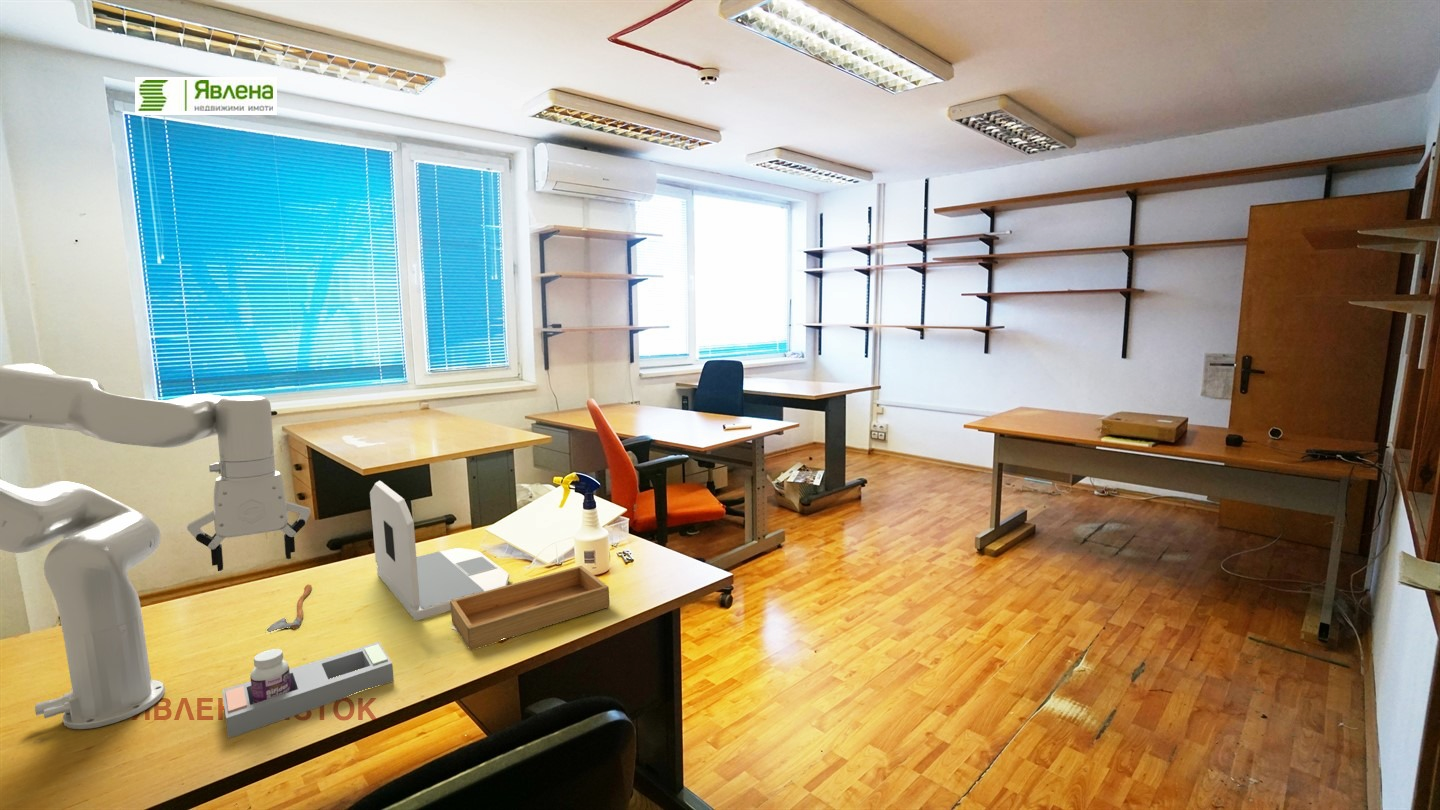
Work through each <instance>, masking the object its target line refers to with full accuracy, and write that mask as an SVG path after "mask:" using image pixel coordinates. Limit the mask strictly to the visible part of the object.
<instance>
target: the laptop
mask: <svg viewBox="0 0 1440 810" xmlns="http://www.w3.org/2000/svg"><path fill="white" fill-rule="evenodd" d="M369 499H370V500H369V501H370V508H371V522H372V532H373V533H372V534H373V545H374V556H375V557H374V559H375V563H376V566H377V567H376V571H377V572H376V573H377V575H378V576H379V578H380V579H381V580H382V581H383V583H384V584H385V585H386V587H387V588H388V589H389V590H390V591H391V593H392V594H393V595H394V596H395V598H397V600H398V601H399V602H400V604H401V605H402V607H404V609H405V610H406V611H407V613H408V614H410V616H411V617H412V619H413V620H414V621H420V620H422V619H427V618H430V617H434V616H437V615H439V614H443V613H446V612H451V605H450V600H454V599H458V598H461V597H465V596H469V595H473V594H477V593H480V592H484V591H488V590H492V589H495V588H499V587H503V586H507V585H509V580H510V579H509V578H510V573H508V572H507V571H506V570H504V569H503V568H502V567H501V566H499V565H498V564H496V563H495V562H494V561H493V560H491V559H490V558H489V557H487V556H486V555H484V554H483V553H482V552H481V551H480V550H475V549H471V548H470V549H469V548H462V547H455V548H450V549H446V550H442V551H436V552H431V553H428V554H423V555H419V556H417V550H416V549H417V548H416V547H417V546H416V536H415V523H414V518H413V517H412V514H411V512H410V509H409V507H408V505H407V503H406V501H405V500H406V499H405V498H403V496H401V495H399V493H397V492H396V491H395V490H393V489H392V488H390V487H389V486H388V485H387V484H385V483H384V482H383V481H381V480H378V481H376V482H374V485H373V486H372V488H371V489H370V491H369Z"/></svg>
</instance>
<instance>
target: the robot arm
mask: <svg viewBox="0 0 1440 810" xmlns="http://www.w3.org/2000/svg"><path fill="white" fill-rule="evenodd" d="M271 406H272V405H271V403H270V401H269V399H268V398H266V397H265V396H260V395H234V396H233V395H232V396H225V395H223V396H222V395H216V394H215V395H214V394H208V393H194V394H187V395H184V396H178V397H175V398H170V399H166V400H159V399H158V400H156V399H148V398H141V397H131V396H125V395H119V394H113V393H111V392H110V393H109V392H107V391H105V388H104V387H103V385H102V383H100V382H99V381H97V380H95V379H91V378H87V377H86V378H85V377H77V376H72V375H71V376H69V375H63V374H62V375H61V374H58V373H57V372H56V371H54V370H52V369H50V368H49V367H46V366H43V365H41V364H35V363H31V362H30V363H29V362H17V363H8V364H7V363H6V364H0V439H2V438H4V437H5V436H8V435H9V434H10V433H12V432H14V431H16V430H18V429H20V428H22V427H23V426H28V427H29V426H30V427H31V426H32V427H39V428H47V429H48V428H49V429H55V430H58V429H59V430H67V431H73V432H79V433H81V434H83V435H85V436H88V437H92V438H94V439H97V440H101V441H104V442H107V443H115V444H122V445H132V446H140V447H151V448H161V449H162V448H168V449H169V448H177V447H179V448H180V447H182V446H185V445H186V446H187V445H188V444H191V443H193V442H197V441H198V440H203V439H205V438H209V437H212V436H217V442H218V443H217V445H218V451H219V452H218V453H219V461H217V462H215V463H212V464H209V465H208V466H209V467H208V468H209V473H218V475H219V476H218V477H216V479H215V482H214V487H213V510H212V511H210V512H208V513H206V514H204V515H203V516H201V517H199V518H197V519H195V520H194V521H191V522H189V523H188V524H187V527H186V529H187V531H188V532H189V533H190V534H191V536H192V537H194V539H195V540H196V541H197V542H199V543H200V544H202V545H204V546H206V547H208V549H209V550H210V554H211V566H216V567H217V571H218V572H221V571H223V570H224V558H223V557H224V556H223V545H222V542H223V541H224V540H225V539H229V538H235V537H244V536H250V535H258V534H264V533H270V532H276V531H281V532H283V533H284V534H283V540H284V552H285V553H284V555H285V558H286V559H287V560H291V559H292V553H295V552H296V544H295V543H296V542H295V536H296V535H297V533H299V531H300V530H301V529H303V527H304V526H305V525H306V523H307V521H308V519H309V518H310V516H311V513H312V510H311V508H310V507H307V506H305V505H304V506H303V505H300V504H297V503H294V502H289V501H287V495H286V489H285V485H284V481H283V476H282V474H281V472H280V471H277V470H276V465H275V461H276V460H275V450H274V437H273V436H274V434H273V419H272V407H271ZM288 511H289V512H292V513H297V514H299V517H298V518H297V519H296V520H295V521H294V522H293V523H292V524H291V523H289V515H288ZM211 522H213V523H214V530H215V533H214V534H213V535H212V536H211V535H209V534H207V533H205V532H204V531H203V529H202V528H203V527H204V526H206V525H207V524H210V523H211ZM62 538H63V539H62ZM161 538H162V536H161V532H160V529H159V527H158V525H157V523H156V522H154V521H153V519H151V518H150V517H148V515H145V514H143V512H140V511H138V510H136V509H135V508H133V507H130V506H129V505H126V503H123V502H120V501H118V500H117V499H114V498H112V497H110V495H109V496H108V495H107V494H105V493H103V492H100V491H99V490H97V489H94V488H92V487H91V486H87V485H85V484H82V483H80V482H79V483H78V482H73V481H69V480H67V481H66V480H54V481H49V482H44V483H41V484H37V485H35V486H32V487H22V486H18V485H16V484H12V483H10V482H9V481H5V480H3V479H1V478H0V550H2V551H4V552H8V553H12V554H13V553H15V554H19V553H20V554H21V553H27V552H31V551H35V550H37V549H40V548H42V547H45V546H47V545H49V544H51V543H54V542H56V541H58V540H60V539H62V540H60V541H59V542H58V543H56V544H55V545H54V546H53V547H52V548H51V549H50V550H49V552H48V554H47V555H46V556H45V560H44V563H43V573H44V576H45V580H46V583H47V585H48V586H49V588H50V590H51V592H52V595H53V598H54V600H55V604H56V607H57V611H58V614H59V618H60V619H59V620H60V624H61V632H62V634H63V641H64V642H63V643H64V647H65V652H66V659H67V665H68V671H69V678H70V683H71V690H70V692H67V693H64V694H63V695H62V696H61V697H58V698H54V699H48V700H45V701H40V702H37V703H35V706H34V711H35V715H36V716H37V717H38V716H40V715H41V716H42V715H43V718H44V719H47V718H51V717H54V716H57V715H59V714H63V715H62V721H63V724H64V726H65V727H66V726H67V727H66V728H68V729H73V730H89V729H95V728H101V727H104V726H108V725H112V724H116V723H118V722H121V721H124V720H127V719H129V718H132V717H134V716H136V715H138V714H140V713H142V712H145V711H146V710H148V709H149V708H151V707H153V706H154V705H155V704H157V703H158V702H159V701H160V700H161V699H162V698H163V697H164V695H165V692H166V691H165V690H166V688H165V683H164V682H162V681H160V680H157V679H152V675H151V670H150V662H149V654H148V648H147V642H146V634H145V627H144V620H143V613H142V607H141V601H140V598H139V594H138V592H137V590H136V588H135V586H134V585H133V583H132V582H131V580H130V578H129V576H128V572H129V571H131V569H133V568H134V567H136V566H137V565H140V564H141V563H142V562H144V561H146V559H148V558H149V557H151V556H152V555H153V554H154V553H155V552H156V551H157V549H158V548H159V546H160V544H161ZM286 559H285V560H286Z"/></svg>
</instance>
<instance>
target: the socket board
mask: <svg viewBox="0 0 1440 810" xmlns="http://www.w3.org/2000/svg"><path fill="white" fill-rule="evenodd" d="M393 667H394V666H393V662H392V660H391V658H390V657H389V656H388V654H387V652H386V651H385V650H384V648H383V646H382V645H381V643H380V641H377V642H374V643H370V644H367V645H362V646H360V647H356V648H354V649H350V650H347V651H344V652H341V653H338V654H334V655H331V656H328V657H325V658H322V659H318V660H314V661H312V662H309V663H308V662H307V663H306V664H301V665H299V666H296V667H292V668H289V672H290V682H291V692H288V693H285V694H282V695H279V696H276V697H273V698H270V699H267V700H264V701H261V702H258V703H255V704H253V698H252V688H251V680H249V681H247V682H244V683H240V684H237V685H234V686H230V687H228V688H225V689H224V688H222V691H221V692H222V700H223V706H224V707H223V708H224V714H225V723H226V728H227V736H228V739H231V738H234V737H236V736H239V735H242V734H244V733H248V732H250V731H254V730H257V729H260V728H262V727H265V726H269V725H271V724H273V723H277V722H280V721H283V720H285V719H289V718H292V717H294V716H297V715H300V714H302V713H307V712H308V711H311V710H314V709H317V708H320V707H322V706H325V705H328V704H331V703H334V701H335V702H337V701H339V699H340V700H342V699H341V698H343V699H345V698H344V697H346V698H348V697H347V696H349V695H351V694H354V693H356V692H359V691H362V690H365V689H368V688H372V687H375V686H378V685H380V686H383V685H386V684H389V683H392V682H394V681H395V678H394V670H393V669H394V668H393ZM358 669H359V670H358ZM355 670H356V671H355ZM339 675H340V676H339ZM336 676H337V677H336ZM333 677H334V678H333ZM330 678H331V679H330ZM385 683H386V684H385ZM382 684H383V685H382ZM378 687H379V686H378ZM375 688H376V687H375ZM372 689H373V688H372ZM349 697H350V696H349ZM336 700H337V701H336Z"/></svg>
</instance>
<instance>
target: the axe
mask: <svg viewBox="0 0 1440 810" xmlns="http://www.w3.org/2000/svg"><path fill="white" fill-rule="evenodd" d="M312 588H313V587H312V584H309V583H308V584H306V585H305V586H304V588H303V589H304V591H303V593H302V595H300V597H299V599H298V600H297V603H296V614H297V615H296V617H295V619H294V621H293V622H288V621H287V622H288V623H287V622H286V619H285V618H286V617H282V618H281V619H280V620H277V621H276V622H273V624H271V625H269V626H270V627H269V626H268V627H269V628H268V627H267V628H268V629H267V628H266V629H267V631H268V632H271V631H274V630H277V629H282V628H287V627H288V629H292V628H297V627H299V626H300V627H301V625H300V624H302V622H303V619H304V610H303V603H304V600H305V599H306V598H307V597H308V596H309V595H310V594H311V592H312V590H313V589H312ZM311 589H312V590H311ZM309 593H310V594H309ZM308 594H309V595H308ZM307 595H308V596H307ZM306 596H307V597H306ZM305 597H306V598H305ZM304 598H305V599H304ZM289 627H291V628H289ZM300 627H299V628H300ZM297 629H298V628H297Z"/></svg>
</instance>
